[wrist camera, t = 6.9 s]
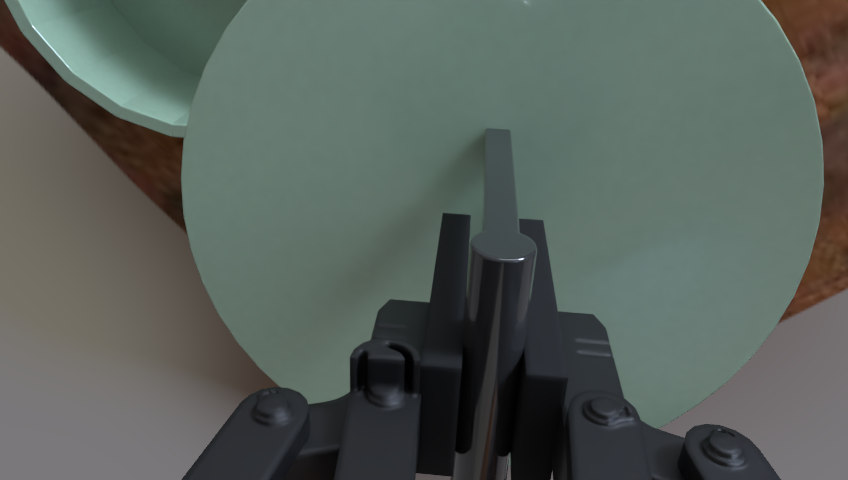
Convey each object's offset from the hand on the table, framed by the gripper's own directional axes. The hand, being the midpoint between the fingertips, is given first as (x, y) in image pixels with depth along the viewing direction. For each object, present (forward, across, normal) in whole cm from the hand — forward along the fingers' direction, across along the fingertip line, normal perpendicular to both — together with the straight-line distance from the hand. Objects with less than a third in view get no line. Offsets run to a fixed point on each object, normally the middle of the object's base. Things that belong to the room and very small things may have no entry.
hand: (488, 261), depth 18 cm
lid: (+2, 0, 0) cm, 2 cm away
